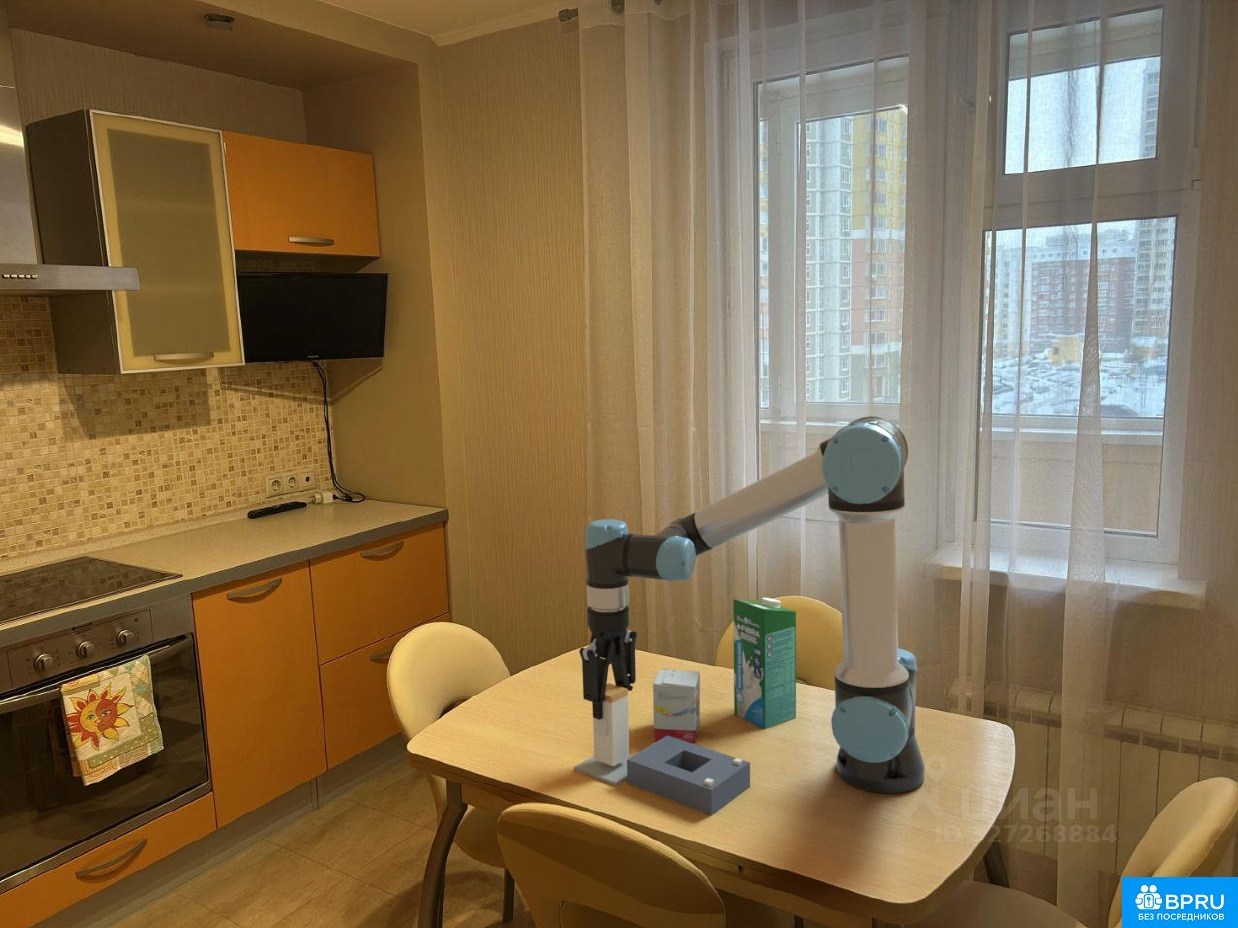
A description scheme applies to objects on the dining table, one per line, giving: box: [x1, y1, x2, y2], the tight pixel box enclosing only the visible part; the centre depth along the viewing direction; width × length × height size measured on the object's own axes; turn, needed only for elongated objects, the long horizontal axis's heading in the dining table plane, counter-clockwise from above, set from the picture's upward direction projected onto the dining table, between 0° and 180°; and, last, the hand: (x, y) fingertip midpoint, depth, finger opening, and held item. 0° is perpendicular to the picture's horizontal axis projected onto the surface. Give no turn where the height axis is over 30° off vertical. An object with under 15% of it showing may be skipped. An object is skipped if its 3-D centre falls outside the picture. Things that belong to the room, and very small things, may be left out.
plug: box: [592, 682, 630, 766], centre depth 167 cm, size 5×5×13 cm
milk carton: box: [732, 597, 797, 730], centre depth 187 cm, size 9×9×25 cm
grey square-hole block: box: [626, 736, 751, 816], centre depth 161 cm, size 18×12×5 cm, turn 50°
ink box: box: [652, 668, 701, 744], centre depth 182 cm, size 9×9×12 cm
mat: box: [573, 753, 634, 787], centre depth 169 cm, size 10×10×1 cm
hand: (611, 728), depth 168 cm, fingers closed on plug, 5 cm apart
